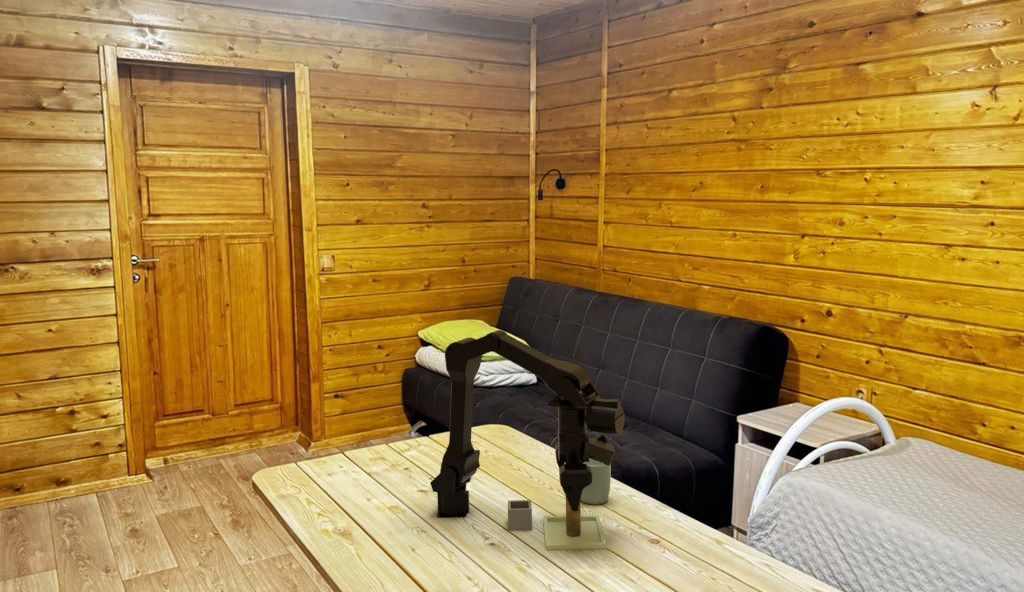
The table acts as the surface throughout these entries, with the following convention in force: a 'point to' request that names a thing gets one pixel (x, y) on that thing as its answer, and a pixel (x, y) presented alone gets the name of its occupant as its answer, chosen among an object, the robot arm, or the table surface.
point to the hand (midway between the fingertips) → (573, 501)
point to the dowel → (573, 521)
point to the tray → (560, 541)
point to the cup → (597, 483)
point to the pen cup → (519, 515)
